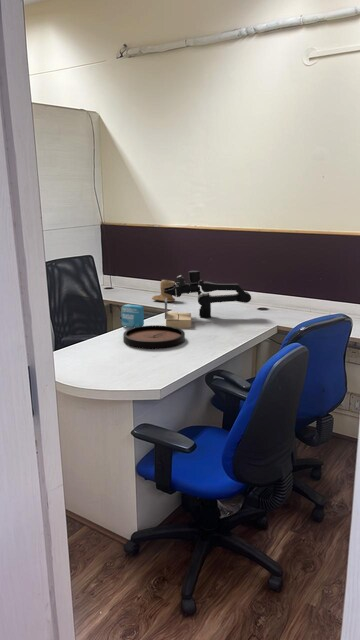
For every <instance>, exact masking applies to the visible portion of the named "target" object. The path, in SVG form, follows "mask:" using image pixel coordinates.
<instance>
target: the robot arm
mask: <svg viewBox="0 0 360 640" xmlns="http://www.w3.org/2000/svg"><path fill="white" fill-rule="evenodd" d="M176 279H177V281H178V282H176V281H175V284H174V285H173V286H171V287H168V288H165V289H164V290H165V291H164V293H166V294H170V295H172V297H174V298H175V297H176V298H180V297H181V296H182V295H183V294H184V295H185V294H187V295H188V294H193V293H195V294H197V295H198V297H197V301H198V304H199V306H200V308H199V309H198V310H199V312H198V313H199V314H198V315H199V317H200V319H201V318H202V319H203V318H205V319H206V318H210V319H211V318H212V313H211V312H212V304H213V303H226V302H227V303H228V302H238V303H244V304H247V303H249V302H251V300H252V296H251V294H250V293H249V292H248V291H246V290H244V289H243V288H242V287H241V286H240V284H238V283H216V282H211V281H205V280H204V281H203V280H202V279H201V271H200V270H190V271H189V270H188V280H189V282H191V283H188V282H186V281H185V280H186V279H185V277H183V275H182V274H180V275H178V276H176ZM215 291H232V292H234V291H235V292H236V293H235V294H221V295H220V294H219V295H210V293H211V292H215Z"/></svg>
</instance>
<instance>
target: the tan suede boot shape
mask: <svg viewBox="0 0 360 640" xmlns="http://www.w3.org/2000/svg"><path fill="white" fill-rule="evenodd" d="M159 284H160V285H159V286H160V294H159V295H154V296H152V298H151V300H153V301H156V302H157V301H158V302H159V301H160V302H165V299H166V298H167V303H168V302H174V301H176V298H175V297H174V296H173V295H170V294H166V293H164V291H165V290H164V289H165V288H168V287H171V286H173V285H174V284H176V281H173V280H168V279H161V281H160V283H159Z"/></svg>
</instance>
